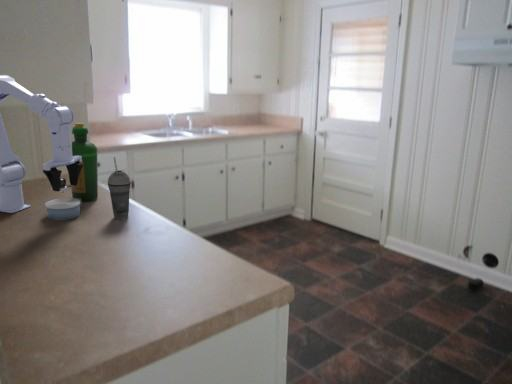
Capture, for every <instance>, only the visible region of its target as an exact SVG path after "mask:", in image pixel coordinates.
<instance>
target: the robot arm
mask: <svg viewBox="0 0 512 384" xmlns="http://www.w3.org/2000/svg"><path fill="white" fill-rule="evenodd" d="M9 96H12V97H14V98H16V99H17V100H19V101H21V102H23V103H25V104H26V105H27V107H28V110H30V111H32V112H33V113H35V114H36V115H37V116H40V117H42V118H43V119H44V120H45V121H44V122H45V123H46V124H47V126H48V130H49V132H50V145H51V154H52V159H51V160H49V161H47V162H45V163H42V173H44V175H45V176H46V178H47V180H48V181H49V183H50V187H52V189H53V190H52V189H51V190H52V191H53V192H60V178H61V175H62V170H61V169H58V168H62V167H66V169H67V173H68V179H69V185H74V186H76V185H77V183H78V178H79V174H80V171H81V169H82V167H83V163H79V162H82V156H72V130H71V124H72V123H73V121H74V117H75V115H74V112H73V110H72V109H71V108H70V106H67V105H60V104H58V102H56V101H53V100H50V98H48V97H47V96H46V94H44V93H35V94H34V93H32V92H31V91H30V90H28V89H27V88H25V87H24V86H22V85H21V84H19V83H18V82H16V80H15V78H14V77H11V76H9V75H7V74H0V104H1V103H3V101H4V100H6V99H7V98H8V97H9ZM26 175H27V171H26V167H25V165H24V164H23V163H22V161H21V157H19V156H18V155H16V154H14V153H13V151H12V147H11V144H10V140H9V137H8V132H7V130H6V127H5V124H4V120H3V116H2V113H1V112H0V212H3V213H9V214H14V213H17V212H19V211H21V210H22V211H23V210H25V209H28V208H31V205H30V204H25V202H24V193H23V186H22V185H23V182H24V178H25V177H26Z"/></svg>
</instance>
